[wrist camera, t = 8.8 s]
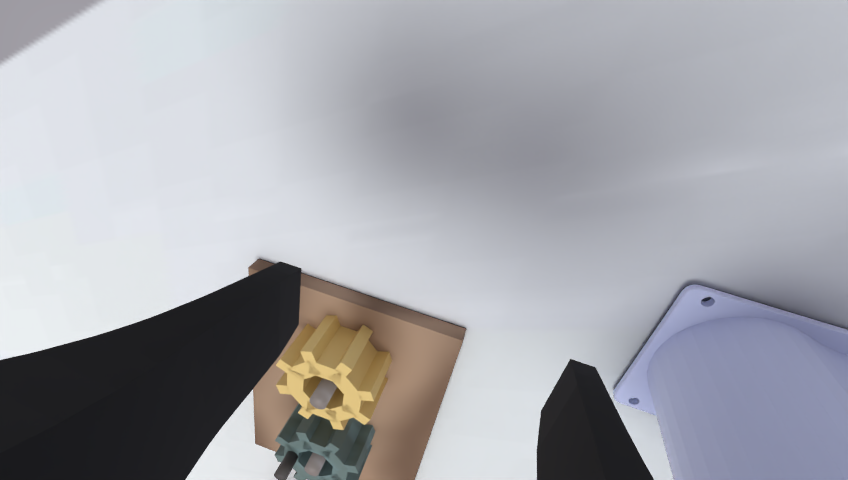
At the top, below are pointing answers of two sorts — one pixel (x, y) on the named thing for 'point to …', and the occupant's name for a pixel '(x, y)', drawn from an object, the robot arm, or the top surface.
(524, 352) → the top surface
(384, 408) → the gear board
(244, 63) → the top surface
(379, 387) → the ochre gear
